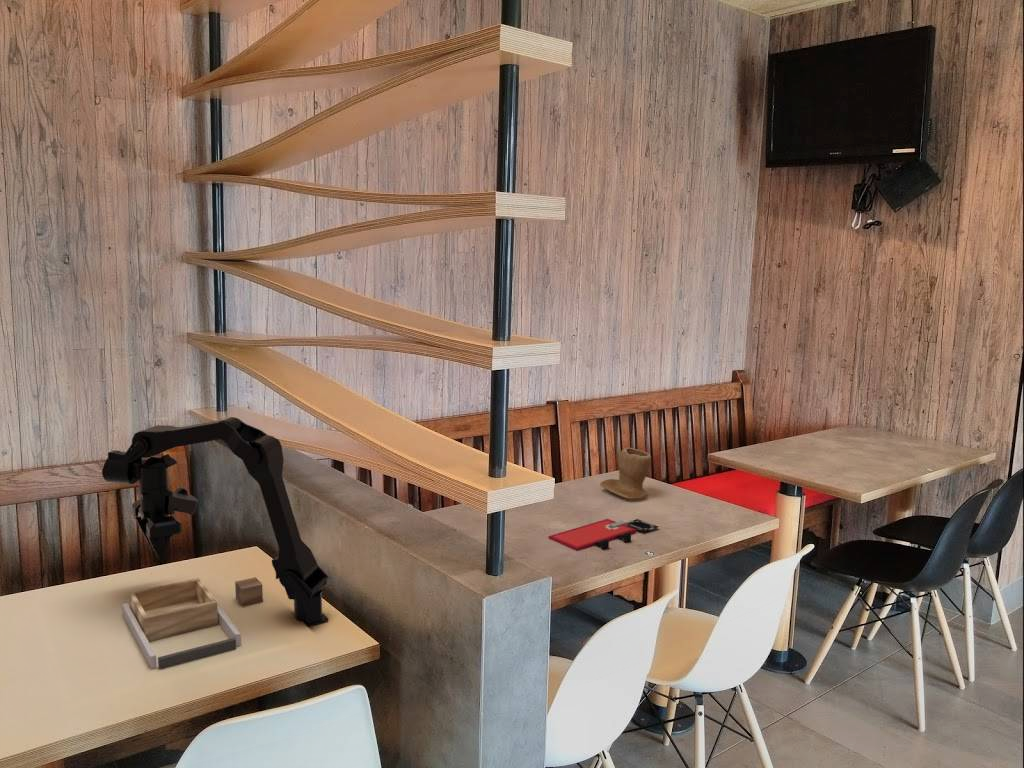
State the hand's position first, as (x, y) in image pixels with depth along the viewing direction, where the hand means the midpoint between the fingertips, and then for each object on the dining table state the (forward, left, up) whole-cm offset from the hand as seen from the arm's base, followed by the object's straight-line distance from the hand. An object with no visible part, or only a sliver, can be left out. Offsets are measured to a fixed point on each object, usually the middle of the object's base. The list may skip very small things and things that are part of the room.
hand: (158, 554), depth 181 cm
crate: (-12, 0, -10) cm, 16 cm away
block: (-11, -16, -11) cm, 22 cm away
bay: (-17, 0, -11) cm, 20 cm away
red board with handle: (-21, -112, -12) cm, 114 cm away
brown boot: (+3, -141, -11) cm, 141 cm away
